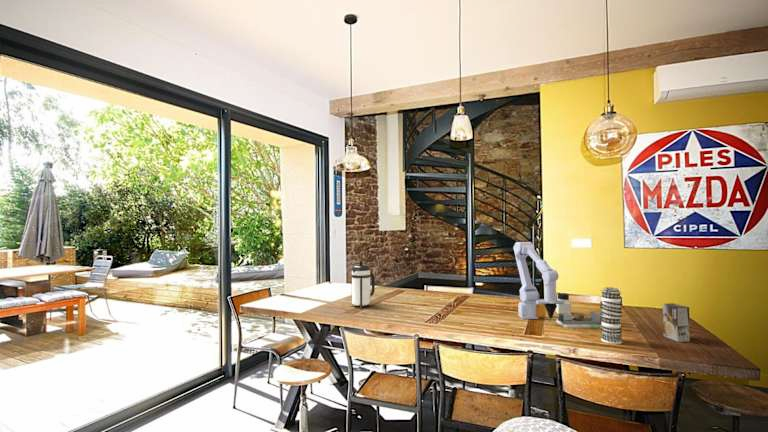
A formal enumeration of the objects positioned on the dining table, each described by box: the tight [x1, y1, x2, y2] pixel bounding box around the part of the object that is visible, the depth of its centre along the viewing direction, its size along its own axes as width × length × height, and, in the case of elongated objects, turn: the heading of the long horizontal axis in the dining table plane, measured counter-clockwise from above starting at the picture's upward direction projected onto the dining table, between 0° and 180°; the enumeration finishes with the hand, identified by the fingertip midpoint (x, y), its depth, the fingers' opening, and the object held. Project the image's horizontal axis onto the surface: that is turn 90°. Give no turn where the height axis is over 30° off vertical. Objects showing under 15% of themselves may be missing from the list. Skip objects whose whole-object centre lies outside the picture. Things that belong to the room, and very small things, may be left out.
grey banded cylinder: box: [599, 286, 623, 345], centre depth 182 cm, size 9×9×25 cm
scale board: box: [555, 310, 602, 329], centre depth 210 cm, size 20×12×6 cm, turn 89°
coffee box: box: [662, 302, 691, 343], centre depth 185 cm, size 9×6×16 cm
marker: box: [573, 313, 585, 321], centre depth 210 cm, size 3×5×4 cm, turn 179°
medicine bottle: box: [555, 292, 572, 315], centre depth 235 cm, size 7×7×12 cm
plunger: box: [558, 313, 576, 322], centre depth 210 cm, size 8×5×4 cm, turn 89°
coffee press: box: [350, 260, 376, 310], centre depth 256 cm, size 17×16×30 cm
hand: (550, 317), depth 210 cm, fingers closed
